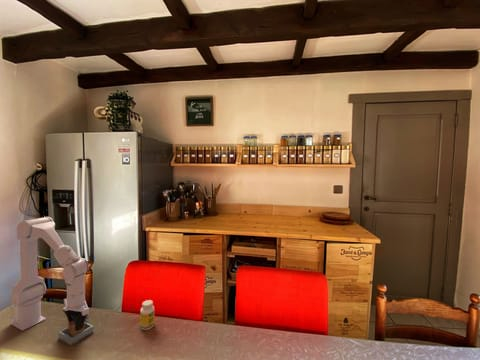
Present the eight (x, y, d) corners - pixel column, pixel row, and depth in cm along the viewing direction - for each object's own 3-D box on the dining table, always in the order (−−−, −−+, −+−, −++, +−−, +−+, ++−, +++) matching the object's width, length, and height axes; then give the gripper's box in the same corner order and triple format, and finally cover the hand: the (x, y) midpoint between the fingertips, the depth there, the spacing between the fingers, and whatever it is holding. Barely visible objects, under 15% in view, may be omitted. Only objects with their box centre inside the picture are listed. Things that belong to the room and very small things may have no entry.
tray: (58, 338, 87) (58, 332, 87) (80, 325, 95) (80, 319, 94) (71, 345, 84) (71, 338, 84) (93, 332, 91) (93, 325, 91)
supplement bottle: (149, 331, 92) (149, 307, 92) (137, 329, 93) (137, 305, 93) (156, 322, 97) (157, 299, 97) (145, 320, 98) (145, 298, 98)
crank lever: (70, 315, 101) (70, 303, 100) (81, 311, 104) (81, 299, 104) (82, 326, 94) (82, 313, 94) (93, 321, 97) (93, 308, 97)
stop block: (67, 335, 88) (67, 323, 88) (79, 328, 92) (79, 317, 92) (73, 338, 86) (72, 326, 86) (84, 332, 90) (84, 321, 90)
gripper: (54, 291, 89) (55, 326, 89) (74, 302, 82) (74, 340, 82) (75, 284, 95) (75, 316, 95) (94, 294, 88) (95, 329, 88)
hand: (76, 327), depth 89 cm, fingers closed on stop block, 4 cm apart
